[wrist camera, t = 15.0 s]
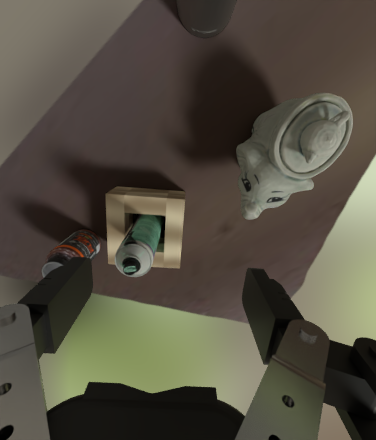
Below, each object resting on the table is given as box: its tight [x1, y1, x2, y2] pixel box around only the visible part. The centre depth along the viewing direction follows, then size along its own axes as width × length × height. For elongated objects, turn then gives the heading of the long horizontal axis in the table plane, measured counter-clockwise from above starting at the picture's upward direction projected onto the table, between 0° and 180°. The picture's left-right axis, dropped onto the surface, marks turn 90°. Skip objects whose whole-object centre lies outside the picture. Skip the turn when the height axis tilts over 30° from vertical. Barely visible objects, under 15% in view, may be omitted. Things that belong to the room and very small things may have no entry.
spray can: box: [115, 214, 164, 277], centre depth 39 cm, size 6×6×20 cm
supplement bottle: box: [42, 229, 101, 277], centre depth 44 cm, size 7×7×13 cm
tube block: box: [105, 186, 185, 268], centre depth 45 cm, size 14×14×7 cm
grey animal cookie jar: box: [236, 93, 353, 219], centre depth 36 cm, size 16×15×19 cm
